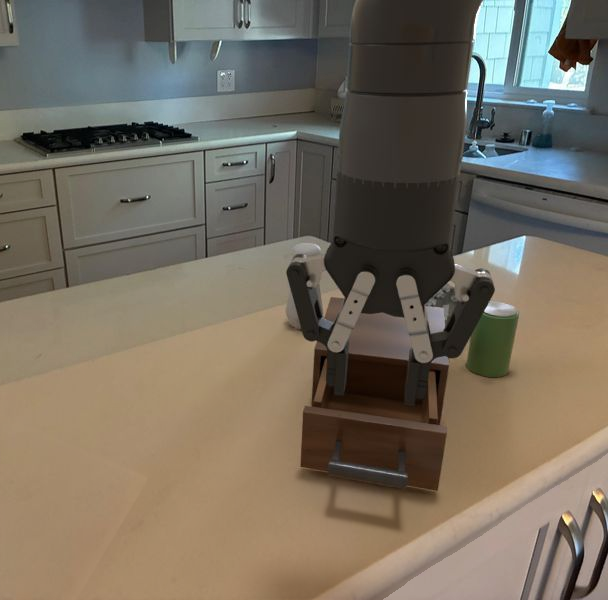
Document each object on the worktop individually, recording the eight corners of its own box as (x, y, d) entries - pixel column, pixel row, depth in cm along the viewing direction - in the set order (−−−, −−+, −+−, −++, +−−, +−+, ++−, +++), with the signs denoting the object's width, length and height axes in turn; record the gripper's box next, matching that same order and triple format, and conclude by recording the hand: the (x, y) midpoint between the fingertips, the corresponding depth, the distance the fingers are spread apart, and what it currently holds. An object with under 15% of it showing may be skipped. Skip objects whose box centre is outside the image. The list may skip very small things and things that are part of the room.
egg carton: (460, 337, 91) (464, 312, 89) (413, 322, 96) (416, 298, 94) (488, 313, 98) (492, 290, 96) (442, 301, 103) (446, 278, 101)
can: (505, 360, 84) (516, 302, 81) (510, 379, 80) (522, 318, 76) (464, 356, 86) (474, 298, 82) (467, 374, 81) (477, 314, 78)
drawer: (439, 526, 56) (449, 465, 53) (292, 498, 59) (294, 440, 57) (434, 410, 72) (441, 359, 70) (319, 393, 76) (322, 345, 73)
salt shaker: (296, 313, 100) (299, 236, 95) (328, 321, 97) (333, 243, 92) (278, 326, 96) (280, 247, 90) (311, 335, 93) (315, 254, 87)
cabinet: (439, 430, 70) (449, 365, 67) (311, 411, 74) (314, 348, 71) (435, 365, 84) (443, 307, 80) (327, 352, 88) (330, 296, 84)
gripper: (274, 172, 38) (270, 408, 45) (530, 183, 34) (482, 439, 41) (295, 151, 44) (288, 359, 51) (512, 157, 40) (473, 382, 47)
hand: (374, 393), depth 46 cm, fingers open, 4 cm apart
